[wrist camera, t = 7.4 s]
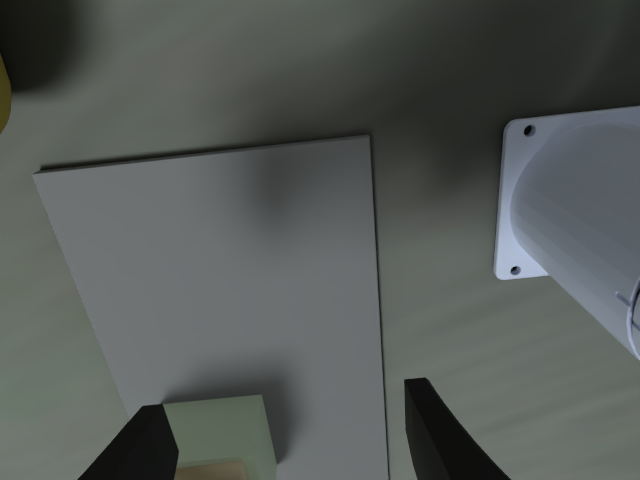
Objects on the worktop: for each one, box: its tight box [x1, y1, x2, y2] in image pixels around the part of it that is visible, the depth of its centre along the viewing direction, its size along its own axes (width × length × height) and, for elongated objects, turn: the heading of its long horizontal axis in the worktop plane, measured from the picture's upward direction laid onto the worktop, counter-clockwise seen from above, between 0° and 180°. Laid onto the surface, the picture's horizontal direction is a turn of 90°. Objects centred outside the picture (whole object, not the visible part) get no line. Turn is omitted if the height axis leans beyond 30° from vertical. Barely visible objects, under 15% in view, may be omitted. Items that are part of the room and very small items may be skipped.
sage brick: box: [163, 394, 277, 480], centre depth 24 cm, size 6×6×4 cm
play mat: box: [31, 135, 388, 480], centre depth 24 cm, size 15×24×1 cm, turn 6°
